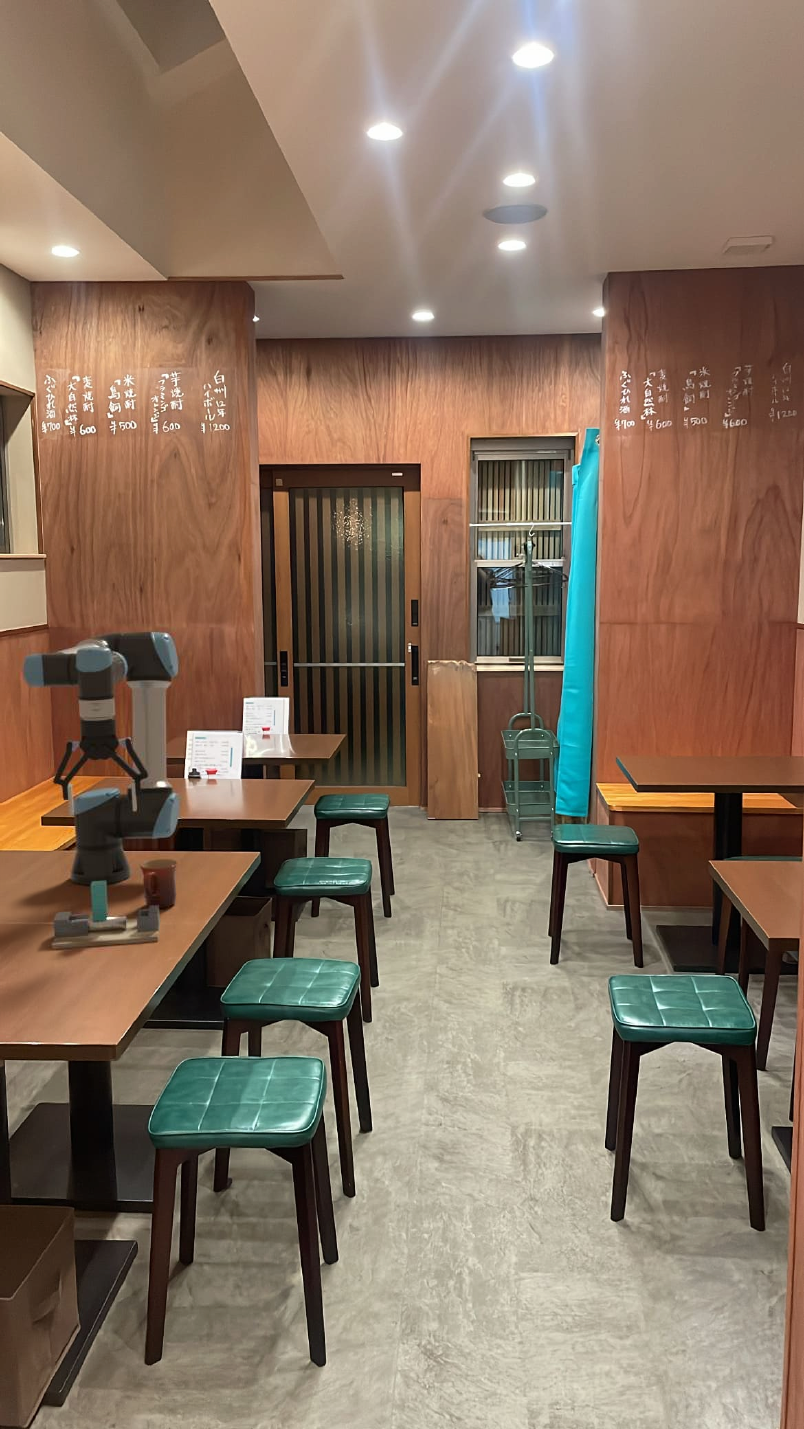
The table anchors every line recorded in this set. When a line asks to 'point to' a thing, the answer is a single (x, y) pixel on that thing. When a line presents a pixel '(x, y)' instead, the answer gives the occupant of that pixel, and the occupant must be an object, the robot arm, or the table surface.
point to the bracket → (70, 925)
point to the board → (108, 937)
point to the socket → (148, 919)
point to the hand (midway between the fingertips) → (103, 812)
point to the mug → (159, 882)
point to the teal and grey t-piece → (102, 911)
